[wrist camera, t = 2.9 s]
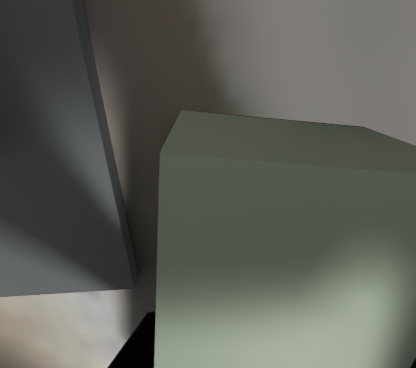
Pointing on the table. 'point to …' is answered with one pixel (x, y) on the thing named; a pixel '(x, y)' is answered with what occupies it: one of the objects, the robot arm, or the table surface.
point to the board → (56, 159)
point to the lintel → (284, 245)
